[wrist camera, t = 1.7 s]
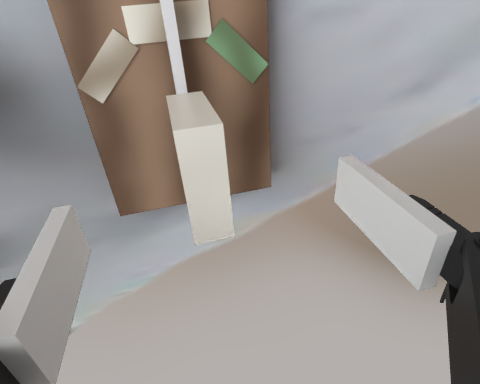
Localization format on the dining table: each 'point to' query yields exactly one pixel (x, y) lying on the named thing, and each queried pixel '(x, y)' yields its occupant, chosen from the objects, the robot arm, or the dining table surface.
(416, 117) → the dining table surface
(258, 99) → the board
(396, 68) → the dining table surface
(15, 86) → the dining table surface
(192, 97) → the white piece
